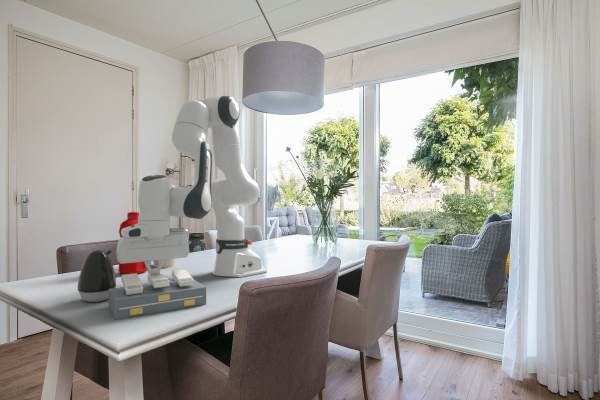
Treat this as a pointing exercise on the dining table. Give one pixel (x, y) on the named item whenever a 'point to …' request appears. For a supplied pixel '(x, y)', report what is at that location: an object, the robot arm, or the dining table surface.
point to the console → (155, 299)
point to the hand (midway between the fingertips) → (154, 275)
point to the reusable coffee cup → (166, 263)
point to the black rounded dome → (96, 277)
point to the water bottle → (136, 266)
